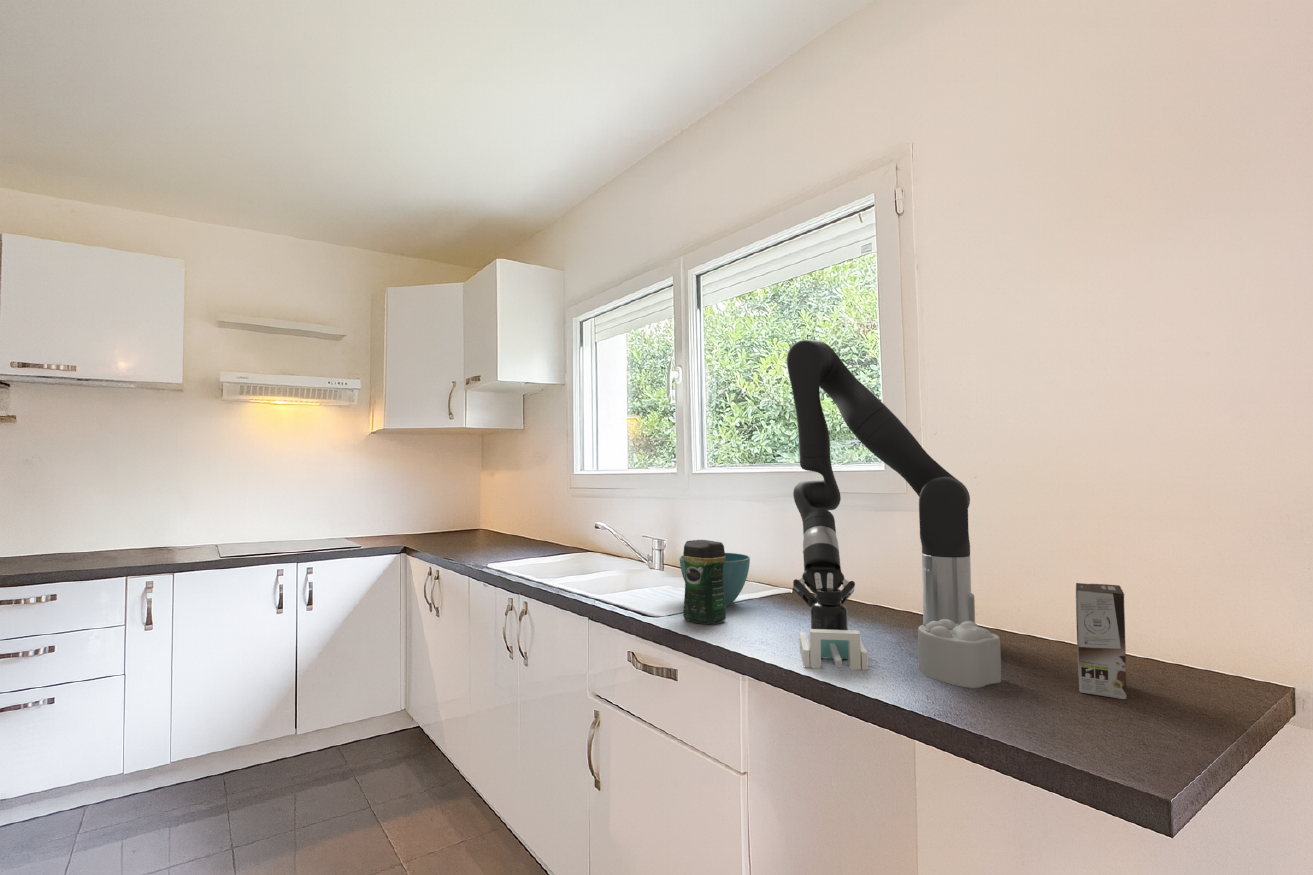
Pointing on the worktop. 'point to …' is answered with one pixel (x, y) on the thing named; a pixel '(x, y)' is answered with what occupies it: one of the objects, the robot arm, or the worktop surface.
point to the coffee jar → (704, 581)
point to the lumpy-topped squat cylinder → (959, 653)
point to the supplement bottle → (829, 610)
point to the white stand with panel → (855, 646)
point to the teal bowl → (730, 575)
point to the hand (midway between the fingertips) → (826, 623)
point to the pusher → (834, 650)
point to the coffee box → (1101, 640)
